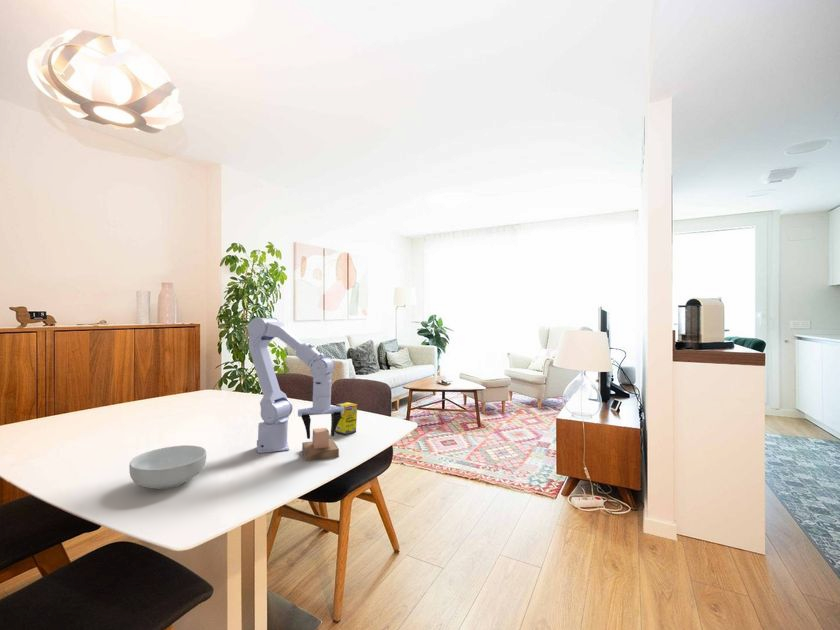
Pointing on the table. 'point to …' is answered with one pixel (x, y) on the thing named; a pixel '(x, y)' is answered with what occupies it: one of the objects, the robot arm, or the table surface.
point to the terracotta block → (320, 438)
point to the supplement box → (347, 419)
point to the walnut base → (320, 451)
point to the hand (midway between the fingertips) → (320, 436)
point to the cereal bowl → (167, 466)
